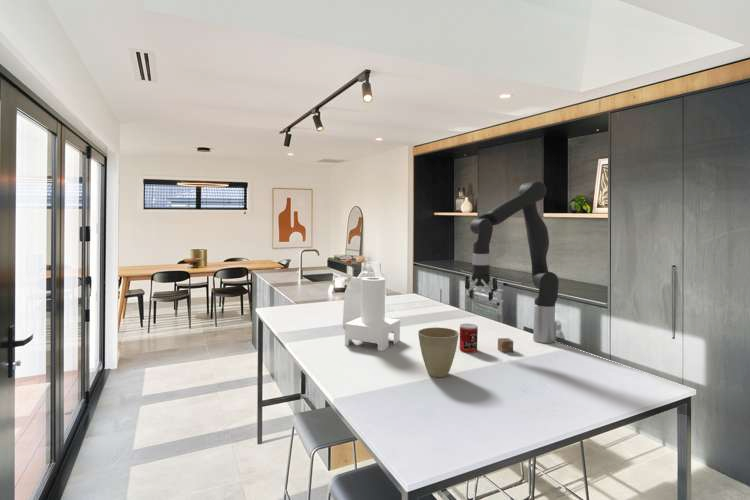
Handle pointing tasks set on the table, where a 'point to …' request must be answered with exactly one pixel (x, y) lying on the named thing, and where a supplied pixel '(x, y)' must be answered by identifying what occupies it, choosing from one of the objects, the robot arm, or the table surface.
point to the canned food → (468, 338)
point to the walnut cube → (505, 345)
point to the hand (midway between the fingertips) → (480, 299)
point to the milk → (352, 300)
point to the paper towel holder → (372, 316)
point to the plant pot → (438, 349)
